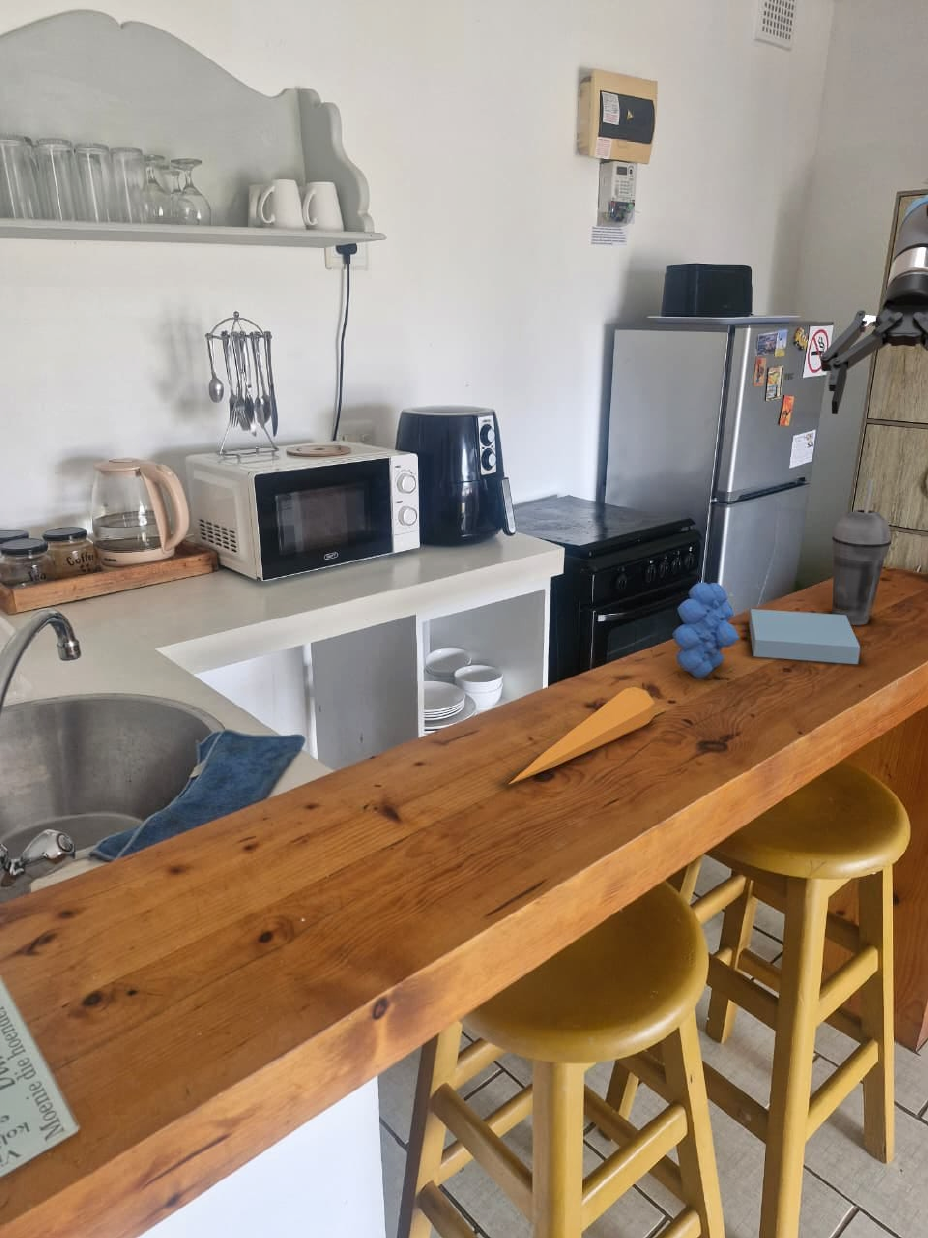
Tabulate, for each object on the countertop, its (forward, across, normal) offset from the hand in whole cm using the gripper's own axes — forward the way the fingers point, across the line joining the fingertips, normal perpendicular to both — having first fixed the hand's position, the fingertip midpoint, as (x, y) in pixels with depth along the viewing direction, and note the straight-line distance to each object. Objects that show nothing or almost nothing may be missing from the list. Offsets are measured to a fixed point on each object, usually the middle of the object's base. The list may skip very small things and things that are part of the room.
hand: (888, 410), depth 118 cm
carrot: (+62, +19, +25) cm, 70 cm away
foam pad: (+35, +4, -3) cm, 35 cm away
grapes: (+46, +12, +8) cm, 49 cm away
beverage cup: (+26, 0, -12) cm, 29 cm away
